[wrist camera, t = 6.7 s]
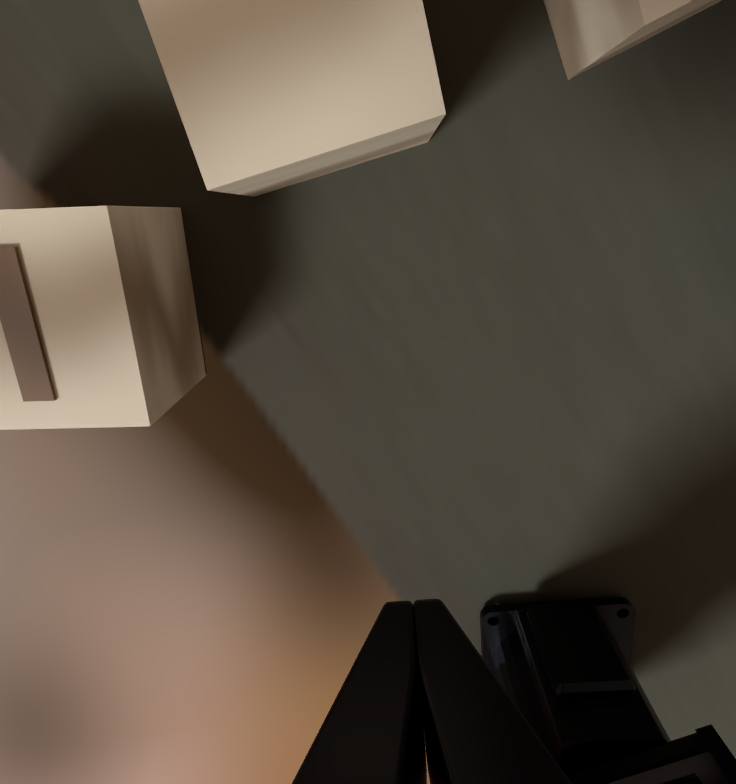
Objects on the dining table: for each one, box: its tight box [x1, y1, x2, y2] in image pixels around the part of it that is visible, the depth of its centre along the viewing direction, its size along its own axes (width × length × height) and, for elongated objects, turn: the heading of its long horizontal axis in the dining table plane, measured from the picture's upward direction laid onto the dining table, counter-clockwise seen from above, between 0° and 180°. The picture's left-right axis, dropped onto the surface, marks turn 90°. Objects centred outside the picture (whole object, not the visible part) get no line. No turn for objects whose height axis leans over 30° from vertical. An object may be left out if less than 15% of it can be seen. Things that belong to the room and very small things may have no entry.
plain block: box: [139, 0, 446, 197], centre depth 13 cm, size 6×6×5 cm
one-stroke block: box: [0, 206, 207, 430], centre depth 16 cm, size 6×6×5 cm
